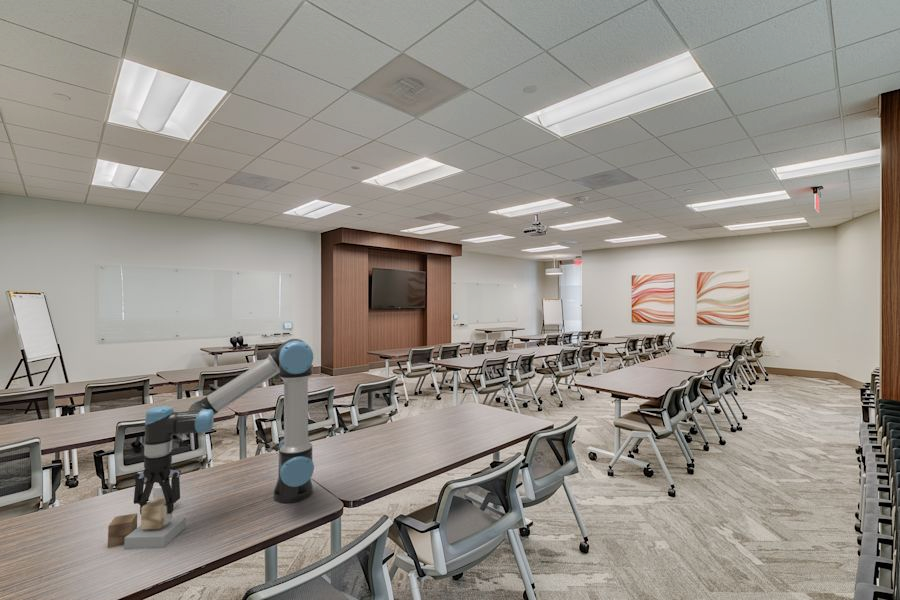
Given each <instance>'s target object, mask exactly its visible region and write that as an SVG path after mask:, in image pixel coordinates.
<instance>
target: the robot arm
mask: <svg viewBox="0 0 900 600" xmlns="http://www.w3.org/2000/svg"><path fill="white" fill-rule="evenodd" d="M313 362H314V352H313V349H312V347H311V346H310V345H309V344H308V343H306V342H305V341H304V340H301V339H299V338H292V339H287V340H286V341H285V342H284V343H282V344H281V345H279V346H278V347H277V348H276V349H274V350H273V351H272V352H270V353H268V356H267V358H265V359H264V360H262V361H260V362H259V363H257V364H256V365H253V366H252V367H251V368H249V369H248V370H246V371H244V372H243V373H241V374H239V375H237V376H236V377H235V378H233V379H232V380H230V381H228V382H227V383H225V384H224V385H223V386H220V387H219V388H217V389H216V390H214V391H213V392H211V393H210V394H208V395H206V396H205V397H203V398H202V399H200V400H197V401H196V402H194V403H192V404H191V405H190V407H189V408H188V410H187V411H174V407H172V406H170V405H169V406H168V405H165V406H164V405H161V406H156V407H152V408H149V409H148V410H147V411H146V412H145V422H144V450H143V451H144V454H143V455H144V458H143V468H144V470H140V471H138V472H137V473H135V474H134V476H133V477H134V481H135V482H134V483H135V484H134V493H133V504H134V505H136V504H138V505H139V515H141V508H142V507H143V506H145V505H146V504H147V503H149V502H150V499H149V498H150V497H151V496H150V495H151V493H152V492H153V485H154V484H155V483H159V485H160V486H161V487H162V491H163V494H164V497H165V501H166V504H165V505H164V520H163V525H166V524H168V523H169V522H170V521H171V513H172V514H173V512H174V510H175V508H174V503H175V502H176V503H177V501H178V500H180V499H181V487H180V485H181V484H180V482H181V481H180V477H181V473H182V471H181V470H180V469H178V470H174V469H173V468H172V461H173V453H172V450H173V436H176V435H186V434H197V433H198V434H199V433H200V434H201V433H204V432H205V433H206V432H210V431H212V430H213V427H214V422H215V421H214V419H215V415H216V414H218V413H219V412H221V411H222V410H223V409H226V408H227V407H229V406H230V405H231V404H233V403H234V402H236V401H238V400H239V399H240V398H242V397H244V396H245V395H246V394H249V393H250V392H252V391H253V390H254V389H256V388H258V387H259V386H261V385H262V384H263V383H265V382H267V381H269V380H270V379H271V378H273V377H275V376H277V375H278V374H279V378H280V379H281V380H282V381H283V424H284V426H283V432H284V433H283V436H284V437H283V438H282V439H281V440H280V441H279V443H278V447H277V448H278V478H277V481H276V484H275V486H274V489H273V497H272V498H273V500H274V501H275V502H278V503H282V504H284V503H285V504H288V503H289V504H291V503H296V502H300V501H303V500H306V499H307V498H309V497H310V496H312V494H313V492H314V485H313V482H312V480H311V478H312V476H313V474H314V470H315V465H314V464H315V463H314V462H313V461H314V460H313V443H312V442H311V441H310V439H309V405H308V404H309V395H308V394H309V379H310V378H311V377H312V376H313ZM145 478H146V481H145ZM170 479H171V486H170V482H169V481H170ZM144 485H145V487H144ZM171 487H172V489H171Z"/></svg>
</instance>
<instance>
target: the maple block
mask: <svg viewBox="0 0 900 600" xmlns="http://www.w3.org/2000/svg"><path fill="white" fill-rule="evenodd" d="M148 502H149V503H148ZM148 502H147V504H146V505H145V506H143V507H142V508H141V514H140V525H141V529H160V528H161V527H163V526H164V525H163V520H164V505H165V504H166V501H165V499H153V498H152V500H149V501H148ZM172 515H173V512H172V513H171V519H172V517H173V516H172Z"/></svg>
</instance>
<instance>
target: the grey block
mask: <svg viewBox="0 0 900 600" xmlns="http://www.w3.org/2000/svg"><path fill="white" fill-rule="evenodd" d="M185 528H187V516H172V519H171V521H170V522H169V523H168V524H166V525H164V526H163V527H161V528H160V529H141V524H140V525H139V526H137V529H135V530H134V531H133V532H131V533H130V534H129V535H127V536H126V537H125V541H124V545H123V546H124V547H123V549H124V550H139V549H141V550H142V549H143V550H144V549H164V548H165V547H166V546H167V545H168V544H170V543H171V542H172V541H173V540H174V539H175V538H176V537H177V536H178V535H179V534H180V533H181V532H183V531H184V529H185Z"/></svg>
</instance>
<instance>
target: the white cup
mask: <svg viewBox="0 0 900 600" xmlns="http://www.w3.org/2000/svg"><path fill="white" fill-rule="evenodd" d="M169 479H170V481H169V482H170V486H171V479H172V478H169ZM171 489H172V487H171ZM153 499H165V497H164V494H163V491H162V487H161V486H160V485H159V483H156V482H155V483H154V485H153V488H152V500H153ZM175 508H177V501H176V502H175V503H174V509H175Z"/></svg>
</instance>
